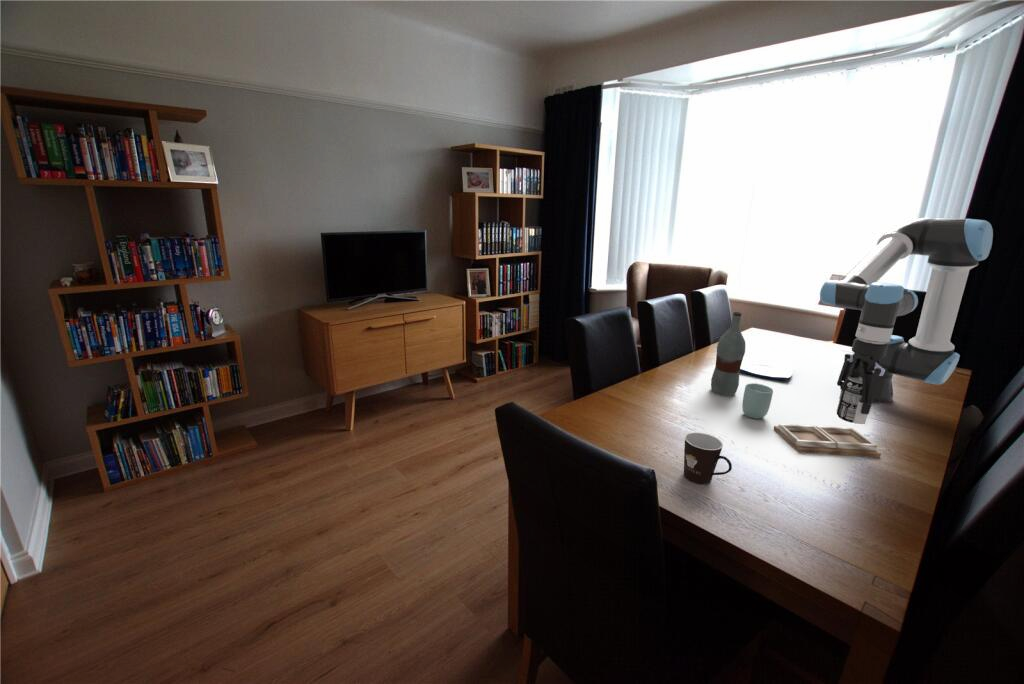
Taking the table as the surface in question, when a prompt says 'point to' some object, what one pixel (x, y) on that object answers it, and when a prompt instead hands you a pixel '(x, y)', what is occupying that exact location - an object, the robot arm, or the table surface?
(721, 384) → the bottle
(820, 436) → the divided tray
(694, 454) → the coffee mug
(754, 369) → the plate
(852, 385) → the beverage can
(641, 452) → the table surface
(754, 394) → the cup
